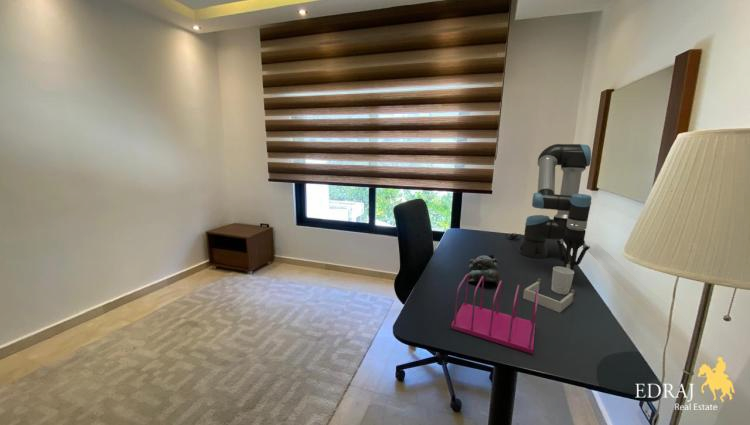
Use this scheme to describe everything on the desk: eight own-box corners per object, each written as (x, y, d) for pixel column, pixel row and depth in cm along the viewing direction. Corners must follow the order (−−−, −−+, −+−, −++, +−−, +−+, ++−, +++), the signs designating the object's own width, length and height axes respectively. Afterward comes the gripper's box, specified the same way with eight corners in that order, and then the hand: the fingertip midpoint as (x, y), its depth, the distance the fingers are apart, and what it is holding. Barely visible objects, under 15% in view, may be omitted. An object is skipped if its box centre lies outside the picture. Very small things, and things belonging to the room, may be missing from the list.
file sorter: (532, 355, 89) (540, 308, 86) (450, 329, 101) (454, 286, 98) (534, 326, 104) (541, 285, 101) (462, 306, 116) (466, 269, 113)
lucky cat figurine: (461, 281, 138) (462, 251, 142) (474, 284, 146) (474, 256, 150) (492, 282, 127) (493, 250, 131) (504, 286, 135) (504, 255, 139)
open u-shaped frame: (537, 289, 132) (538, 278, 131) (572, 302, 122) (574, 290, 120) (522, 298, 124) (524, 286, 123) (559, 312, 113) (562, 300, 112)
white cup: (573, 296, 126) (577, 274, 124) (553, 294, 128) (557, 272, 126) (566, 288, 134) (569, 267, 132) (547, 286, 135) (550, 265, 133)
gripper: (556, 226, 136) (549, 274, 141) (590, 233, 126) (580, 284, 132) (562, 224, 141) (555, 270, 146) (595, 230, 131) (586, 279, 136)
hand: (567, 276), depth 139 cm, fingers closed
